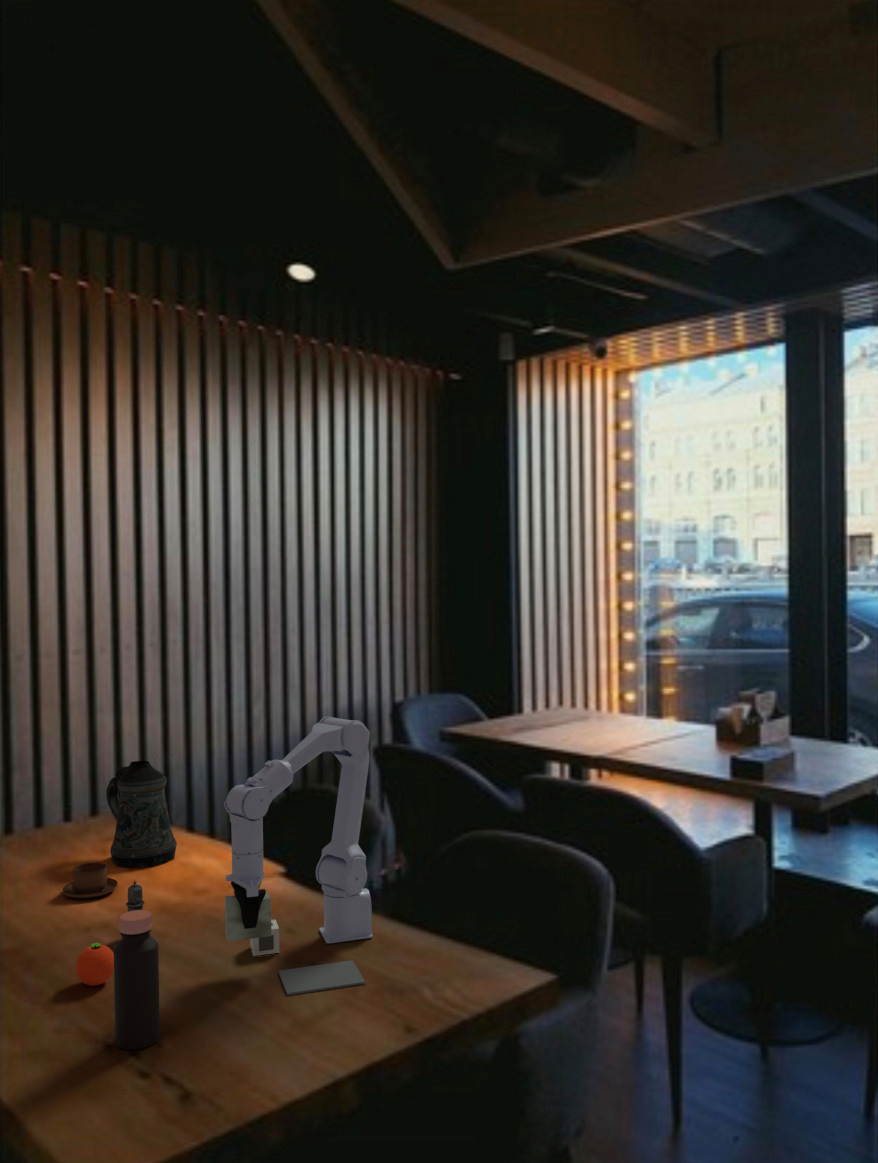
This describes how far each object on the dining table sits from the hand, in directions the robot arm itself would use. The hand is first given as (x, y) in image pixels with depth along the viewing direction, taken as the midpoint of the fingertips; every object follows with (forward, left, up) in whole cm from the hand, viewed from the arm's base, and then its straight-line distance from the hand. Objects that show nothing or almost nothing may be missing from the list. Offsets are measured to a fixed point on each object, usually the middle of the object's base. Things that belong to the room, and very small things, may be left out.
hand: (248, 923), depth 178 cm
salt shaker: (+20, -23, -9) cm, 32 cm away
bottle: (+20, +21, -9) cm, 30 cm away
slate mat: (-12, +8, -9) cm, 17 cm away
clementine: (+27, -4, -9) cm, 29 cm away
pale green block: (0, 0, -2) cm, 2 cm away
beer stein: (+19, -80, -9) cm, 83 cm away
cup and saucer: (+30, -56, -9) cm, 64 cm away
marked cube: (-4, -8, -9) cm, 13 cm away
